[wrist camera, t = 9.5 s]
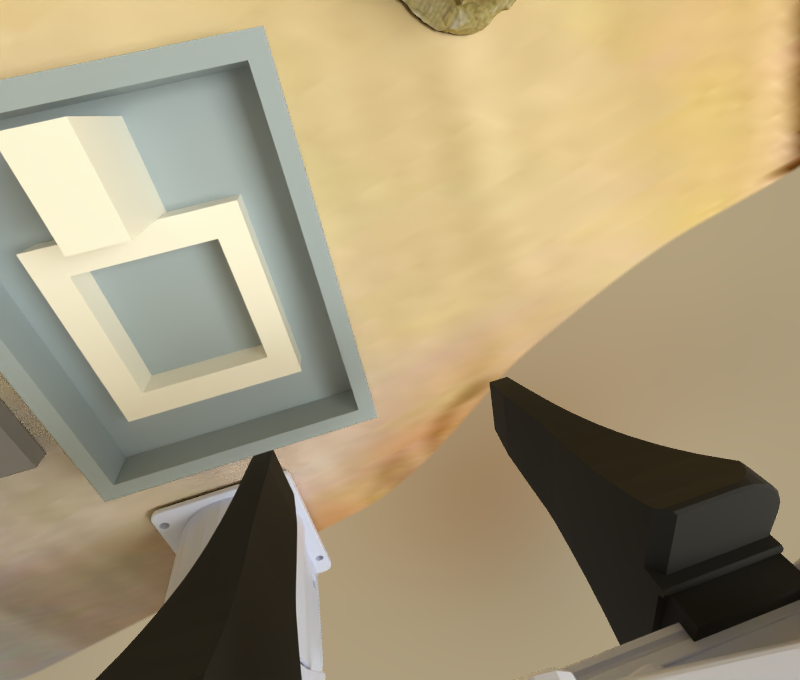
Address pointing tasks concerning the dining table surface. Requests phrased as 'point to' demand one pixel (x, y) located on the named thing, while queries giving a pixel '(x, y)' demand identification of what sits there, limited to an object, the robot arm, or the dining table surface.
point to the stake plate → (16, 445)
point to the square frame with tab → (130, 240)
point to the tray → (182, 268)
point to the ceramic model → (458, 13)
